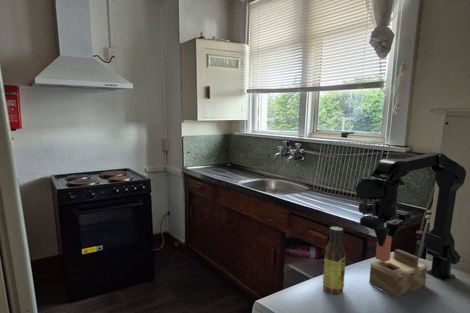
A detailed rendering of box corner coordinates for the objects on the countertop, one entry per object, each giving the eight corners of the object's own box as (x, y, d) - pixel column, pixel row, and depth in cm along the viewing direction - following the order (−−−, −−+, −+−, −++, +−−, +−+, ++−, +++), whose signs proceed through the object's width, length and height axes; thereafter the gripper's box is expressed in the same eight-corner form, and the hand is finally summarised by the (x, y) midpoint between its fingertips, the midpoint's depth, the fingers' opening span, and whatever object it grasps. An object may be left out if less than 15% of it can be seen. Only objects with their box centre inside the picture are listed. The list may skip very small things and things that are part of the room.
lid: (400, 257, 107) (401, 246, 106) (426, 268, 99) (428, 256, 99) (370, 265, 99) (371, 254, 99) (396, 278, 91) (397, 265, 91)
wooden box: (399, 273, 108) (400, 257, 107) (425, 285, 100) (426, 268, 99) (369, 283, 100) (370, 266, 99) (394, 297, 92) (396, 278, 91)
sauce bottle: (344, 296, 92) (349, 233, 90) (323, 293, 93) (327, 231, 91) (341, 285, 98) (345, 226, 96) (321, 283, 99) (325, 224, 97)
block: (381, 256, 102) (383, 233, 101) (389, 260, 99) (391, 236, 98) (375, 258, 100) (377, 234, 99) (383, 261, 98) (386, 237, 97)
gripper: (383, 191, 109) (379, 233, 111) (347, 195, 100) (344, 241, 102) (414, 198, 100) (409, 243, 101) (378, 203, 90) (373, 253, 92)
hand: (383, 245), depth 99 cm, fingers closed on block, 3 cm apart
